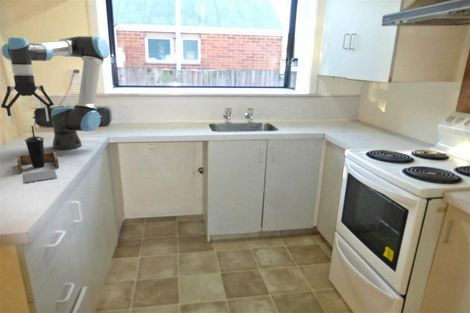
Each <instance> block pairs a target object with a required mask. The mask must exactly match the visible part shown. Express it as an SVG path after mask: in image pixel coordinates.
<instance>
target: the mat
mask: <svg viewBox="0 0 470 313" xmlns="http://www.w3.org/2000/svg"><path fill="white" fill-rule="evenodd" d="M23 178H24V184H25V183H26V184H31V183H30V182H32V183H36V182H35V181H39V182H42V181H41V180H45V181H48V180H47V179H51V180H54V179H53V178H57V179H58V175H57V174H56V170H55V169H54V168H53V169H47V170H41V171H34V172H28V173H24V176H23Z"/></svg>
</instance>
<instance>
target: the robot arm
mask: <svg viewBox="0 0 470 313" xmlns="http://www.w3.org/2000/svg"><path fill="white" fill-rule="evenodd" d="M7 42H8V43H5V44H3V45H2V47H1V53H2V56H3V57H4V58H5V59H6V60H9V61H11V68H12V73H13V74H14V75H13V81H14V86H10V85H7V87H6V93H5V96H4V98H3V100H2V103H1V106H0V107H1V108H2V109H6V112H7V116H8V117H10V118H11V124H15V119H14V113H13V108H11V107H12V106H13V105H14V103H16V101H17V100H18V99H19V98H20V96H21V97H26V96H28V97H31V96H34V97H35V98H37V100H39V101H40V102H41V103H42V104H43V105H44V109H45V116H46V122H49V121H50V119H49V115H50V114H51V122H52V127H53V134H54V135H53V140H52V149H54V150H56V151H57V150H58V151H67V150H75V149H77V148H78V149H79V148H81V147H82V141H81V139H80V137H79V135H78V132H79V131H81V132H94V131H95V130H97V129H98V127H99V126H100V124H101V116H100V115H101V114H100V112H98V108H97V107H96V106H95V104H96V99H97V98H96V97H97V91H98V85H99V84H98V82H99V75H100V69H101V68H100V67H101V65H103V64H104V60H105V59H107V58H108V57H109V55H110V47H109V45H108V42H107V40H106V39H105V38H103V37H102V36H96V35H95V36H89V35H88V36H81V35H80V36H72V37H69V38H68V37H66V38H60V39H59V40H53V41H38V42H37V41H36V42H34V41H33V42H29V39H28V38H27V37H14V36H13V37H8V39H7ZM60 56H63V57H66V58H68V57H70V58H71V57H72V58H73V57H75V58H81V60H82V61H83V63H82V64H83V66H82V73H81V78H80V86H79V92H78V93H79V94H78V102H77V103H76V104H74V106H63V107H57V108H53V109H51V107H52V106H54V102H53V101H52V99H51V98H50V97H49V95H48V93H47V92H46V91H45V89H44V86H43V85H41V84H40V85H36V83H35V76H34V75H33V74H34V69H33V63H32V61H33V62H36V61H37V62H47V61H51V60H52V59H53V57H60ZM14 90H15V91H16V92H17V93H16V94H15V95H14V97H13V98H12V99H11V100H10V102H8V99H9V96H10V95H11V92H13V91H14ZM36 90H38V91H41V93H42V95H44V97H45V99H46V100H47V101H45V100H44V99H43V98H42V97H41V96H40V95H39V94H38V93H36ZM7 102H8V104H7ZM6 104H7V105H6ZM77 131H78V132H77Z"/></svg>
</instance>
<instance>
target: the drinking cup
mask: <svg viewBox="0 0 470 313" xmlns="http://www.w3.org/2000/svg"><path fill="white" fill-rule="evenodd" d="M30 127H31V134H32V136H29V137H27V138H26V139H24V142H25V144H26V147H27V150H28V155H30V158H31V162H32V164H31V165H32V168H33V169H41V168H45V162H44V153H45V151H44V150H45V148H44V140H45V138H44V137H41V136H37V135H36V136H35V130H34V125H31V126H30Z"/></svg>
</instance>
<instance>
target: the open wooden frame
mask: <svg viewBox="0 0 470 313" xmlns="http://www.w3.org/2000/svg"><path fill="white" fill-rule="evenodd" d="M47 162H48V163H49V162H54V164H55V168H56V169H59V168H60V165H59V160H58V156H57V153H56V151H48V152H47V151H46V152H44V163H47ZM16 163H17V169H18V174H20V175H21V174H22V173H23V171H22V170H23V168H22V165H25V166H26V165H29V164H31V165H32V162H31V158H30V155H29V154H22V155H21V154H19V155H17V162H16Z"/></svg>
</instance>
